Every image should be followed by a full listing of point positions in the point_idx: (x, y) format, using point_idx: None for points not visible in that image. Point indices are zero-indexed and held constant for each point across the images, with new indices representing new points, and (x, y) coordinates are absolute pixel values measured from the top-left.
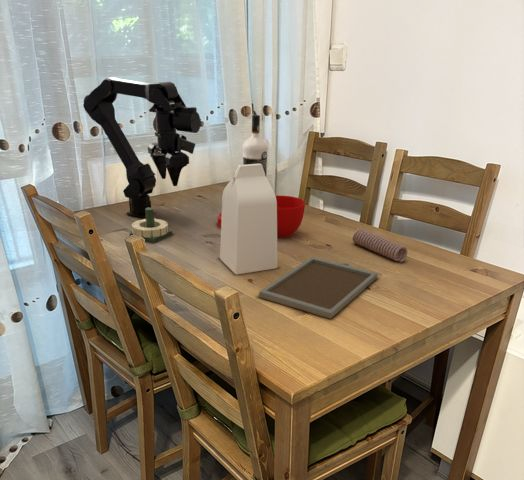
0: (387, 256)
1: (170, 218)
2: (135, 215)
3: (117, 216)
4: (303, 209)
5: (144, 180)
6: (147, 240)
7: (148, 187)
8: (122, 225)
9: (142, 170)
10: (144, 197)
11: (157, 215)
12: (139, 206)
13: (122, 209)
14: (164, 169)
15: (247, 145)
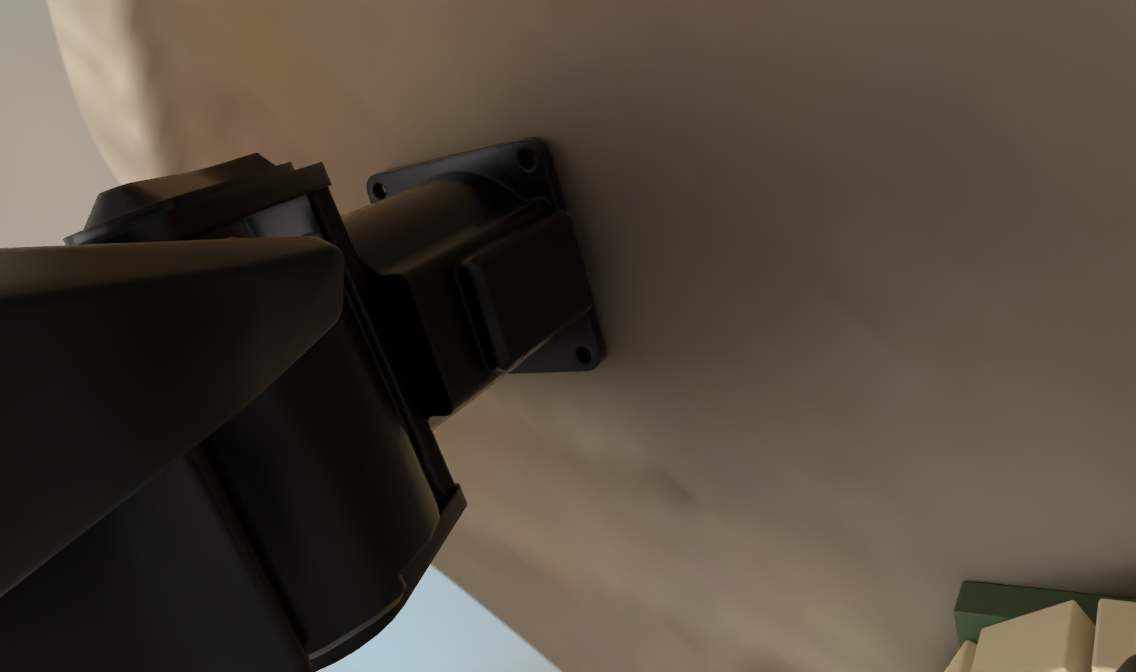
0: None
1: (848, 120)
2: (532, 370)
3: (447, 446)
4: None
5: (307, 600)
6: None
7: (387, 448)
8: (673, 612)
9: (88, 647)
10: (446, 387)
11: (633, 162)
12: (493, 382)
13: None
14: (120, 343)
15: None
